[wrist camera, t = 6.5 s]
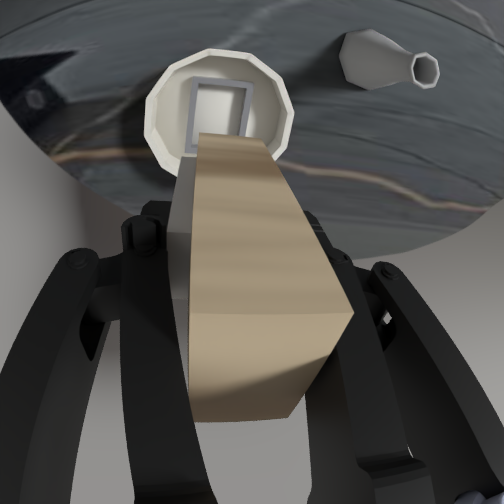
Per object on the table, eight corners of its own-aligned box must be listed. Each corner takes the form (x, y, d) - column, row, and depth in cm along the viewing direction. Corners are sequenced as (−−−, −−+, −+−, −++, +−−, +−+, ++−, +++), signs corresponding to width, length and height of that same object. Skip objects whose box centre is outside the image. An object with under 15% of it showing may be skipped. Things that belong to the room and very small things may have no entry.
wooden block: (199, 132, 13) (189, 313, 5) (261, 138, 14) (353, 312, 5) (191, 221, 16) (189, 422, 8) (245, 224, 17) (287, 417, 8)
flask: (337, 88, 27) (386, 108, 19) (337, 24, 23) (389, 20, 15) (394, 92, 28) (451, 116, 20) (396, 34, 23) (458, 40, 15)
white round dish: (158, 46, 22) (151, 46, 20) (294, 62, 25) (305, 63, 22) (148, 169, 30) (143, 183, 28) (270, 178, 33) (276, 193, 30)
